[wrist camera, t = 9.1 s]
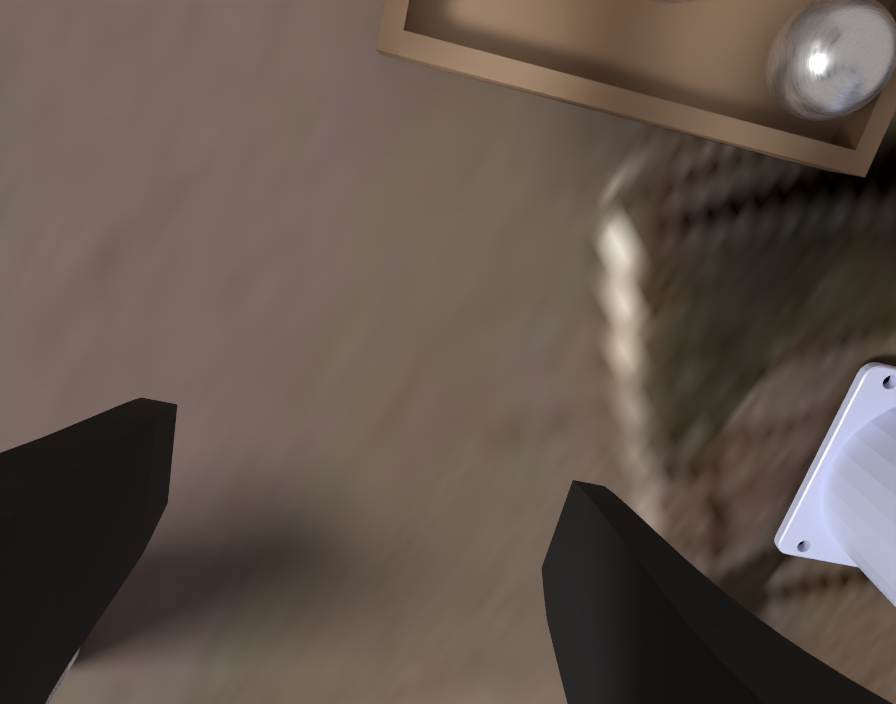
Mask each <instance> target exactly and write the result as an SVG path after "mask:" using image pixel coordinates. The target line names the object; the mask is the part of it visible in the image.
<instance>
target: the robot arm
mask: <svg viewBox="0 0 896 704" xmlns="http://www.w3.org/2000/svg"><path fill="white" fill-rule="evenodd" d="M890 375H891V376H890ZM888 376H890V379H889V381H888V382H887V383H885V384H883V381H884V379H885V378H886V377H888ZM176 412H177V404H172V403H167V402H162V401H156V400H151V399H146V398H139V399H135V400H132V401H130V402H127V403H124V404H122V405H119V406H117V407H115V408H112V409H110V410H107V411H105V412H103V413H100V414H98V415H95V416H93V417H91V418H88V419H86V420H84V421H81V422H79V423H76V424H74V425H72V426H69V427H67V428H64V429H62V430H59V431H57V432H55V433H52V434H50V435H47V436H45V437H42V438H40V439H37V440H34V441H32V442H29V443H26V444H23V445H21V446H18V447H15V448H12V449H10V450H7V451H4V452H2V453H0V704H45V703H46V702H47V700H48V698H49V696H50V694H51V692H52V691H53V689H54V687H55V686H56V684H57V682H58V681H59V679H60V677H61V676H62V674H63V673H64V671H65V669H66V668H67V666H68V664H69V663H70V661H71V660H72V658H73V657H74V655H75V654H76V653H77V651H78V650H79V648H80V647H81V645H82V644H83V642H84V641H85V639H86V638H87V636H88V635H89V633H90V632H91V630H92V629H93V627H94V626H95V624H96V623H97V621H98V620H99V618H100V617H101V615H102V614H103V612H104V611H105V609H106V608H107V606H108V605H109V604H110V602H111V601H112V599H113V598H114V596H115V595H116V593H117V592H118V590H119V589H120V587H121V586H122V584H123V583H124V581H125V580H126V578H127V577H128V575H129V574H130V572H131V571H132V569H133V568H134V566H135V564H136V563H137V561H138V560H139V558H140V557H141V555H142V554H143V552H144V550H145V548H146V546H147V544H148V542H149V540H150V538H151V536H152V534H153V532H154V530H155V528H156V526H157V524H158V522H159V520H160V518H161V516H162V514H163V512H164V509H165V507H166V505H167V503H168V494H169V483H170V473H171V463H172V453H173V442H174V432H175V422H176ZM774 541H775V545H776V546H777V547H778V548H779V550H780V551H781V552H783V553H785V554H789V555H795V556H800V557H806V558H811V559H817V560H822V561H827V562H833V563H838V564H844V565H849V566H854V567H859V568H860V569H861V570H862V571H863V572H864V573H865V574H866V576H867V577H868V578H869V579H870V580H871V581H872V582H873V583H874V584H875V585H876V586H877V587H878V589H879V590H880V591H881V592H882V593H883V594H884V595H885V596H886V597H887V598H888V599H889V600H890V602H891V603H892V604H893V605H894V606H895V607H896V366H891V365H887V364H882V363H878V362H871V363H868V364H866V365H864V366H863V367H862V368H861V369H860V370H859V372H858V373H857V375H856V377H855V379H854V381H853V383H852V385H851V387H850V389H849V391H848V393H847V395H846V397H845V399H844V401H843V403H842V405H841V407H840V409H839V411H838V413H837V415H836V417H835V419H834V421H833V423H832V425H831V427H830V429H829V431H828V433H827V435H826V437H825V439H824V441H823V443H822V445H821V447H820V449H819V451H818V453H817V455H816V457H815V459H814V461H813V462H812V464H811V466H810V468H809V470H808V472H807V474H806V476H805V478H804V480H803V482H802V484H801V486H800V488H799V490H798V492H797V494H796V496H795V498H794V500H793V502H792V504H791V506H790V508H789V510H788V512H787V514H786V516H785V518H784V520H783V522H782V524H781V526H780V528H779V530H778V532H777V534H776V536H775V539H774ZM802 541H804V542H803V544H801V545H798V544H799V543H800V542H802ZM542 577H543V589H544V599H545V607H546V616H547V621H548V626H549V630H550V634H551V638H552V643H553V647H554V651H555V655H556V659H557V663H558V667H559V671H560V675H561V679H562V683H563V687H564V691H565V695H566V699H567V703H568V704H892V703H891V702H889V701H887V700H885V699H883V698H881V697H880V696H878V695H876V694H874V693H873V692H871V691H869V690H868V689H866V688H864V687H862V686H861V685H859V684H857V683H855V682H854V681H852V680H850V679H849V678H847V677H845V676H844V675H842V674H841V673H839V672H837V671H836V670H834V669H833V668H831V667H829V666H828V665H826V664H825V663H823V662H821V661H820V660H818V659H817V658H815V657H814V656H812V655H810V654H809V653H807V652H806V651H804V650H803V649H801V648H800V647H798V646H797V645H795V644H794V643H792V642H791V641H789V640H788V639H786V638H785V637H783V636H782V635H781V634H779V633H778V632H776V631H775V630H774V629H772V628H771V627H770V626H768V625H767V624H765V623H764V622H763V621H761V620H760V619H759V618H757V617H756V616H754V615H753V614H752V613H750V612H749V611H748V610H746V609H745V608H744V607H742V606H741V605H740V604H738V603H737V602H736V601H735V600H733V599H732V598H731V597H730V596H728V595H727V594H726V593H725V592H724V591H722V590H721V589H720V588H719V587H718V586H716V585H715V584H714V583H713V582H712V581H710V580H709V579H708V578H707V577H706V576H704V575H703V574H702V573H701V572H700V571H698V570H697V569H696V568H695V567H694V566H693V565H692V564H690V563H689V562H688V561H687V560H686V559H685V558H684V557H683V556H681V555H680V554H679V553H678V552H677V551H676V550H675V549H674V548H673V547H672V546H670V545H669V544H668V543H667V542H666V541H665V540H664V539H663V538H662V537H661V536H660V535H659V534H658V533H656V532H655V531H654V530H653V529H652V528H651V527H650V526H649V525H648V524H647V523H646V522H645V521H644V520H643V519H642V518H640V517H639V516H638V515H637V514H636V513H635V512H634V511H633V510H632V509H631V508H630V507H629V506H627V505H626V504H625V503H624V502H623V501H622V500H621V499H620V498H618V497H617V496H616V495H615V494H614V493H613V492H611V491H610V490H609V489H607V488H606V487H605V486H601V485H596V484H590V483H585V482H580V481H575V480H573V481H572V484H571V487H570V490H569V493H568V495H567V498H566V501H565V504H564V507H563V510H562V512H561V515H560V518H559V521H558V524H557V526H556V529H555V532H554V535H553V538H552V540H551V543H550V546H549V549H548V552H547V554H546V557H545V560H544V563H543V566H542Z"/></svg>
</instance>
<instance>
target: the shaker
mask: <svg viewBox="0 0 896 704" xmlns="http://www.w3.org/2000/svg"><path fill="white" fill-rule="evenodd" d="M653 1H656V2H661V3H673V4H676V3H685V2H689V1H693V0H653Z"/></svg>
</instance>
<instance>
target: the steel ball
mask: <svg viewBox="0 0 896 704" xmlns="http://www.w3.org/2000/svg"><path fill="white" fill-rule="evenodd" d="M895 67H896V22H895V20H894V18H893V16H892V15H891V14H890V12H889V11H888V10H887V9H886V8H885V7H884V6H883V5H882V4H881V3H879V2H877V1H876V0H815V1H813V2H811V3H809V4H807V5H806V6H804V7H803V8H801V9H800V10H798V11H797V12H796V13H794V14H793V15H792V16H791V17H790V18H789V19H788V20H787V21H786V22H785V23H784V25H783V26H782V27H781V28H780V30H779V31H778V32H777V34H776V36H775V38H774V39H773V41H772V44H771V46H770V48H769V52H768V55H767V60H766V69H765V71H766V81H767V85H768V89H769V91H770V93H771V95H772V97H773V98H774V100H775V101H776V102H777V103H778V105H779V106H780V107H781V108H782V109H784V110H785V111H786V112H788V113H790V114H792V115H794V116H796V117H799V118H802V119H807V120H813V121H823V120H832V119H836V118H840V117H843V116H846V115H848V114H851V113H853V112H855V111H857V110H858V109H860V108H862V107H863V106H865V105H866V104H868V103H869V102H870V101H871V100H872V99H873V98H875V97H876V96H877V95H878V93H879V92H880V91H881V90H882V89H883V88H884V87H885V85H886V84H887V82H888V81H889V79H890V78H891V76H892V74H893V72H894V69H895Z"/></svg>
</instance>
